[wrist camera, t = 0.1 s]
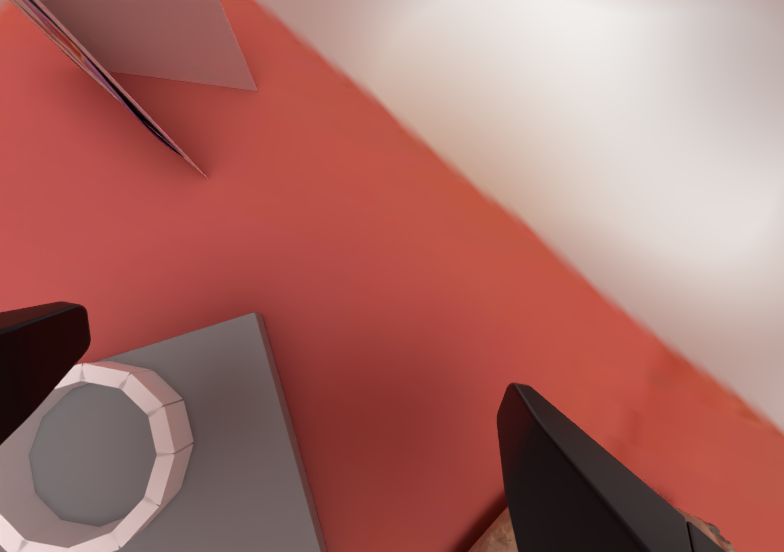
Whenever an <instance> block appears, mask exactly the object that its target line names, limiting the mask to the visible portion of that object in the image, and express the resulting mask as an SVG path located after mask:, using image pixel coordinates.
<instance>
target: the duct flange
mask: <svg viewBox="0 0 784 552" xmlns="http://www.w3.org/2000/svg"><path fill="white" fill-rule="evenodd" d="M0 552H328V551H327V547H326V543H325V540H324V536H323V533H322V529H321V525H320V522H319V518H318V515H317V511H316V507H315V504H314V500H313V497H312V493H311V489H310V486H309V482H308V479H307V475H306V471H305V468H304V464H303V461H302V457H301V453H300V450H299V446H298V443H297V439H296V435H295V432H294V428H293V425H292V421H291V417H290V414H289V410H288V407H287V403H286V399H285V396H284V392H283V389H282V385H281V381H280V378H279V374H278V371H277V367H276V363H275V360H274V356H273V353H272V349H271V345H270V342H269V338H268V335H267V331H266V327H265V324H264V320H263V317H262V314H260V313H256V312H253V313H250V314H247V315H244V316H240V317H237V318H234V319H231V320H228V321H224V322H221V323H218V324H215V325H212V326H208V327H205V328H202V329H199V330H196V331H192V332H189V333H186V334H183V335H180V336H176V337H173V338H170V339H167V340H164V341H160V342H157V343H154V344H151V345H148V346H144V347H141V348H138V349H135V350H132V351H128V352H125V353H122V354H119V355H116V356H112V357H109V358H106V359H103V360H100V361H96V362H93V363H81V364H78V365H75V366H73V368H72V369H71V370H70V371H69V372H68V373H67V375H66V376H65V377H64V378H63V379H62V380H61V382H60V383H59V384H58V385H57V386H56V387H55V389H54V390H53V391H52V392H51V393H50V394H49V396H48V397H47V398H46V399H45V400H44V401H43V403H42V404H41V405H40V406H39V407H38V408H37V409H36V410H35V411H34V413H33V414H32V415H31V416H30V417H29V418H28V419H27V420H26V421H25V422H24V423H23V424H22V425H21V426H20V427H19V428H18V429H17V430H16V431H15V432H14V433H13V434H12V435H11V436H10V437H9V438H8V439H7V440H6V441H5V442H3V443H2V444H1V445H0Z"/></svg>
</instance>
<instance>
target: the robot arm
mask: <svg viewBox="0 0 784 552" xmlns="http://www.w3.org/2000/svg"><path fill="white" fill-rule="evenodd" d="M90 341H91V337H90V329H89V322H88V314H87V310H86V309H85V307H84V306H82V305H80V304H74V303H69V302H54V303H49V304H43V305H38V306H33V307H28V308H22V309H17V310H12V311H6V312H1V313H0V445H1V444H2V443H3V442H5V441H6V440H7V439H8V438H9V437H10V436H11V435H12V434H13V433H14V432H15V431H16V430H17V429H18V428H19V427H20V426H21V425H22V424H23V423H24V422H25V421H26V420H27V419H28V418H29V417H30V416H31V415H32V414H33V413H34V411H35V410H36V409H37V408H38V407H39V406H40V405H41V404H42V403H43V401H44V400H45V399H46V398H47V397H48V396H49V394H50V393H51V392H52V391H53V390H54V389H55V387H56V386H57V385H58V384H59V383H60V382H61V380H62V379H63V378H64V377H65V376H66V375H67V373H68V372H69V371H70V370H71V369H72V368H73V366H74V365H75V364H76V363H77V362H78V361H79V359H80V358H81V357H82V356H83V355H84V354H85V352H86V351H87V349H88V348H89V345H90ZM497 429H498V438H499V447H500V456H501V465H502V473H503V482H504V489H505V495H506V500H507V505H508V509H509V514H510V518H511V523H512V527H513V532H514V536H515V541H516V545H517V550H518V552H726V551H725V550H724V549H722V548H721V547H720V546H719V545H718V544H716V543H715V542H714V541H713V540H712V539H710V538H709V537H708V536H707V535H706V534H705V533H703V532H702V531H701V530H700V529H699V528H698V527H696V526H695V525H694V524H693V523H692V522H690V521H686V518H685V517H684V516H683V515H682V514H681V513H680V512H679V511H677V510H676V509H675V508H674V507H673V506H671V505H670V504H669V503H668V502H667V501H666V500H664V499H663V498H662V497H661V496H660V495H658V494H657V493H656V492H655V491H654V490H653V489H651V488H650V487H649V486H648V485H647V484H645V483H644V482H643V481H642V480H641V479H639V478H638V477H637V476H636V475H635V474H634V473H632V472H631V471H630V470H629V469H628V468H626V467H625V466H624V465H623V464H622V463H621V462H619V461H618V460H617V459H616V458H615V457H613V456H612V455H611V454H610V453H609V452H608V451H606V450H605V449H604V448H603V447H602V446H600V445H599V444H598V443H597V442H596V441H595V440H593V439H592V438H591V437H590V436H589V435H587V434H586V433H585V432H584V431H583V430H582V429H580V428H579V427H578V426H577V425H576V424H574V423H573V422H572V421H571V420H570V419H569V418H567V417H566V416H565V415H564V414H563V413H561V412H560V411H559V410H558V409H557V408H556V407H554V406H553V405H552V404H551V403H550V402H548V401H547V400H546V399H545V398H544V397H543V396H541V395H540V394H539V393H538V392H537V391H535V390H534V389H533V388H532V387H531V386H529V385H524V384H518V383H511V384H509V385H508V387H507V389H506V392H505V394H504V397H503V400H502V402H501V405H500V408H499V410H498V414H497Z"/></svg>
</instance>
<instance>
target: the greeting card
mask: <svg viewBox="0 0 784 552" xmlns="http://www.w3.org/2000/svg"><path fill="white" fill-rule="evenodd" d="M10 1H11V2H12V3H13V4H14V5H16V6H17V7H18V8H19V9H20V10H21V11H22V12H23V13H24V14H25V15H26V16H27V17H28V18H29V19H30V20H31V21H32V22H33V23H34V24H35V25H36V26H37V27H38V28H39V29H40V30H41V31H42V32H43V33H44V34H46V35H47V36H48V37H49V38H50V39H51V40H52V41H53V42H54V43H55V44H56V45H57V46H58V47H59V48H60V49H61V50H62V51H63V52H64V53H65V54H66V55H67V56H68V57H69V58H70V59H71V60H72V61H73V62H74V63H76V64H77V65H78V66H79V67H80V68H81V69H82V70H83V71H84V72H86V73H87V74H88V75H89V76H90V77H91V78H93V79H94V80H95V81H96V82H97V83H98V84H99V85H101V86H102V87H103V88H104V89H105V90H106V91H107V92H109V93H110V94H111V95H112V96H113V97H114V98H116V99H117V100H118V101H119V102H120V103H121V104H122V105H124V106H125V107H126V108H127V109H128V110H129V111H130V112H131V113H132V114H133V115H134V116H135V117H136V118H137V119H138V120H139V121H140V122H141V123H142V124H143V125H144V126H145V127H146V128H147V129H148V130H149V131H150V132H151V133H152V134H153V135H154V136H156V137H157V138H158V139H159V140H160V141H161V142H162V143H164V144H165V145H166V146H168V147H169V148H170V149H172V150H173V151H175V152H176V153H178V154H179V155H181V156H182V157H183V158H184V159H186V160H187V161H188V162H189V163H190V164H191V165H193V166H194V167H195V168H196V169H197V170H198V171H199V172H201V173H202V174H203V175H204V176H205V177H206V178H207V179H208V177H207V176H206V175H205V174H204V173H203V172H202V171H201V170H200V169H199V168H198V167H197V166H196V165H195V164H194V163H193V162H192V161H191V160H190V158H189V157H188V156H187V155H186V154H185V153H184V152H183V151H182V150H181V149H180V148H179V147H178V146H177V145H176V144H175V143H174V142H173V141H172V140H171V138H170V137H169V136H168V135H167V134H166V133H165V132H164V131H163V130H162V129H161V128H160V127H159V126H158V125H157V124H156V123H155V122H154V121H153V119H152V118H151V117H150V116H149V115H148V114H147V113H146V112H145V111H144V110H143V109H142V108H141V107H140V106H139V105H138V104H137V103H136V102H135V101H134V99H133V98H132V97H131V96H130V95H129V94H128V93H127V92H126V91H125V90H124V89H123V88H122V87H121V86H120V85H119V84H118V83H117V82H116V80H115V79H114V78H113V77H112V76H111V75H110V74H109V73H108V72H116V73H123V74H131V75H139V76H146V77H154V78H161V79H169V80H176V81H184V82H192V83H199V84H207V85H214V86H222V87H229V88H237V89H244V90H252V91H258V89H257V87H256V85H255V82H254V80H253V78H252V75H251V73H250V71H249V68H248V66H247V63H246V61H245V59H244V56H243V54H242V52H241V49H240V47H239V45H238V42H237V40H236V37H235V35H234V33H233V30H232V28H231V26H230V23H229V21H228V19H227V16H226V14H225V11H224V9H223V7H222V4H221V2H220V0H10ZM107 71H108V72H107Z"/></svg>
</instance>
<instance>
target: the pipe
mask: <svg viewBox="0 0 784 552" xmlns="http://www.w3.org/2000/svg"><path fill="white" fill-rule="evenodd" d="M675 509H676V510H677V511H679V512H680V513H681V514H682V515H683V516H684V517H685V518H686V521H690V522H692V523H693V524H694V525H695V526H696V527H698V528H699V529H700V530H701V531H702V532H703V533H705V534H706V535H707V536H708V537H709V538H710V539H712V540H713V541H714V542H715V543H716V544H718V545H719V546H720V547H721V548H722V549H724V550H725V551H726V552H736V551H735V550H734V548H733V547H732V545H731V543H730V542H729V541H727V540H725V538H724V537H722V536H721V535H720V531H719V529H718V528H717V527H716V526H714V525H712V524H710V523H707V522H705V521H703V520H702V519H700V518H699V517H696V516H692V515H690V514H688V513H686V512H684V511H682V510H680V509H679V508H675ZM468 552H518V550H517V545H516V541H515V536H514V532H513V527H512V523H511V518H510V514H509V509H508V507H507V508H506V509H505V510H504V511H503V512H502V513H501V514H500V515H499V516H498V517H497V519H496V520H495V521H494V522H493V523H492V524H491V525H490V527H489V528H488V529H487V530H486V531H485V532H484V534H483V535H482V536H481V537H480V538H479V539H478V540H477V541H476V543H475V544H474V545H473V546H472V547H471V548H470V550H469V551H468Z"/></svg>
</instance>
